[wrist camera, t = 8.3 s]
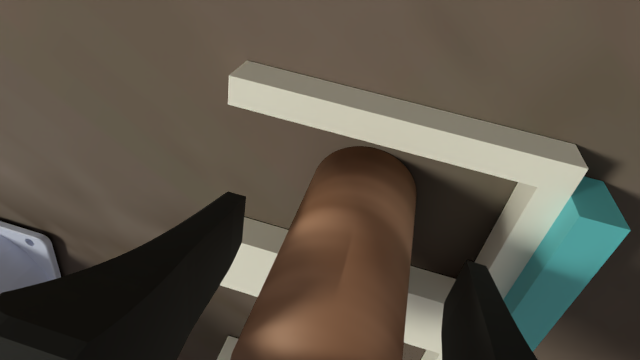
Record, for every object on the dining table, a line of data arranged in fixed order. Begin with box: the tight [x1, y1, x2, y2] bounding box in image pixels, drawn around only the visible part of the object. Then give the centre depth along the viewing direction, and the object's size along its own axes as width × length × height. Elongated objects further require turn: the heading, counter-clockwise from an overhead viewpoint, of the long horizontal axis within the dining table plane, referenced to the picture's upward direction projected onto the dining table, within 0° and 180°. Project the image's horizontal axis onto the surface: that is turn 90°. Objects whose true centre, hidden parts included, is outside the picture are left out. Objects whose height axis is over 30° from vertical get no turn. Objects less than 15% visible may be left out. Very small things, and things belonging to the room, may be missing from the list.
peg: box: [231, 146, 417, 360], centre depth 13 cm, size 4×4×8 cm
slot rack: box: [217, 61, 631, 360], centre depth 18 cm, size 12×17×2 cm
